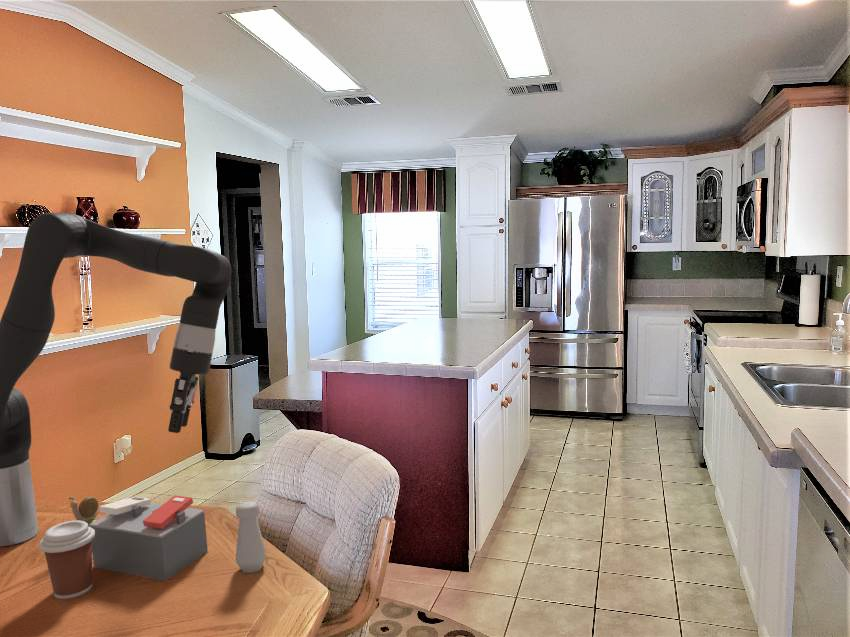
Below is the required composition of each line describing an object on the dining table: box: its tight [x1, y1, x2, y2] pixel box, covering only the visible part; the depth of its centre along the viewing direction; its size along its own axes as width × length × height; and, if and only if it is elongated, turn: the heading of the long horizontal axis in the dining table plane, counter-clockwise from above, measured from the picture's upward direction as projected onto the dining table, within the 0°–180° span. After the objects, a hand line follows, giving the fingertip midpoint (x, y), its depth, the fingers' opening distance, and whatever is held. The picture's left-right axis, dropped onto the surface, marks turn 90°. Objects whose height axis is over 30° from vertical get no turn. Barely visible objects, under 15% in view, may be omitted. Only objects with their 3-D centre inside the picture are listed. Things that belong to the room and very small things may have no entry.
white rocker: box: [98, 496, 152, 515], centre depth 133 cm, size 4×9×1 cm, turn 159°
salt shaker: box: [235, 501, 267, 574], centre depth 126 cm, size 6×6×13 cm
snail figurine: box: [68, 496, 99, 527], centre depth 139 cm, size 5×6×12 cm
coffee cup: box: [38, 519, 95, 600], centre depth 121 cm, size 9×9×12 cm
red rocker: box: [143, 495, 194, 529], centre depth 129 cm, size 4×9×1 cm, turn 159°
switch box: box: [89, 502, 209, 582], centre depth 132 cm, size 18×12×11 cm, turn 69°
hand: (177, 429), depth 130 cm, fingers open, 8 cm apart
